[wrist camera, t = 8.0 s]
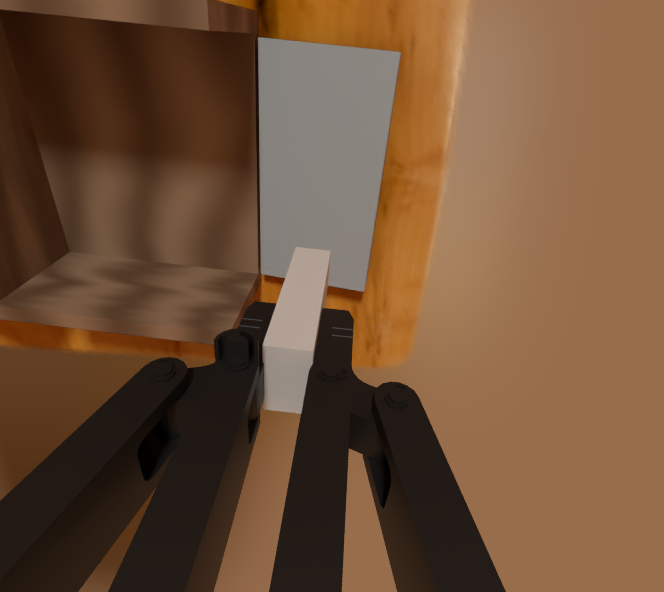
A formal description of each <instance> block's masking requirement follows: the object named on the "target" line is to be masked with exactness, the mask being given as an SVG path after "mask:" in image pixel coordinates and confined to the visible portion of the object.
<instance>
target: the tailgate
mask: <svg viewBox="0 0 664 592" xmlns="http://www.w3.org/2000/svg"><path fill="white" fill-rule="evenodd" d="M400 58H401V52H395V51H386V50H376V49H366V48H357V47H347V46H338V45H328V44H319V43H309V42H299V41H290V40H280V39H271V38H258V69H259V154H260V239H261V274H264V275H270V276H275V277H281V278H286V275H287V272H288V269H289V266H290V263H291V260H292V257H293V254H294V251H295V249H296V247H301V248H310V249H319V250H329V251H331V254H330V265H329V276H328V286H333V287H339V288H344V289H350V290H356V291H362V292H364V290H365V286H366V280H367V273H368V267H369V260H370V254H371V247H372V241H373V234H374V228H375V221H376V215H377V208H378V202H379V195H380V189H381V182H382V176H383V169H384V163H385V156H386V150H387V143H388V137H389V130H390V124H391V117H392V111H393V104H394V98H395V91H396V84H397V78H398V71H399V65H400Z"/></svg>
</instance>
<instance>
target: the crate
mask: <svg viewBox="0 0 664 592" xmlns="http://www.w3.org/2000/svg"><path fill="white" fill-rule="evenodd" d="M260 281H261V239H260V154H259V69H258V11H255V10H251V9H247V8H243V7H240V6H236V5H232V4H228V3H224V2H220V1H216V0H0V319H3V320H11V321H19V322H27V323H36V324H44V325H52V326H60V327H69V328H77V329H85V330H93V331H102V332H110V333H118V334H126V335H135V336H143V337H151V338H159V339H168V340H176V341H184V342H193V343H201V344H209V345H214V339H215V337H216V336H217V335H218V334H220V333H222V332H223V331H226V330H230V329H237V328H238V326H239V324H240V322H241V320H242V317H243V315H244V313H245V311H246V308H248V307H249V305H250V303H251V301H252V299H253V297H254V294H255V292H256V290H257V288H258V286H259V284H260Z"/></svg>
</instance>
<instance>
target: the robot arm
mask: <svg viewBox="0 0 664 592" xmlns="http://www.w3.org/2000/svg"><path fill="white" fill-rule="evenodd" d="M330 254H331V251H329V250H319V249H310V248H301V247H296V249H295V251H294V254H293V257H292V260H291V263H290V266H289V269H288V272H287V275H286V278H285V281H284V284H283V287H282V290H281V292H280V295H279V298H278V301H277V304H275V303H266V302H257V301H255V302H254V303H253V304H251V305H250V306H249V307H248V308H246V311H245V313H244V315H243V317H242V320H241V322H240V324H239V326H238V328H237V329H230V330H226V331H223V332H222V333H220V334H218V335H217V336H216V337H215V339H214V349H215V359H216V361H215V363H213V364H211V365H207V366H202V367H195V368H187V366H186V365H185V363H184V362H183V361H181V360H179V359H177V358H171V357H167V358H160V359H157V360H154V361H152V362H150V363H149V364H147V365H145V366H144V367H143V368H142V369H141V370H140V371H139V372H138V373H137V374H135V375H134V376H133V377H132V378H131V379H130V380H129V381H128V382H127V383H126V384H125V385H124V386H123V387H122V388H120V389H119V390H118V391H117V392H116V393H115V394H114V395H113V396H112V397H111V398H110V399H109V400H108V401H107V402H106V403H104V405H102V406H101V407H100V408H99V409H98V410H97V411H96V412H95V413H94V414H93V415H92V416H91V417H89V418H88V419H87V420H86V421H85V422H84V423H83V424H82V425H81V426H80V427H79V428H78V429H77V430H76V431H75V432H74V433H72V434H71V435H70V436H69V437H68V438H67V439H66V440H65V441H64V442H63V443H62V444H61V445H60V446H58V447H57V448H56V449H55V450H54V451H53V452H52V453H51V454H50V455H49V456H48V457H47V458H46V459H45V460H43V461H42V462H41V463H40V464H39V465H38V466H37V467H36V468H35V469H34V470H33V471H32V472H31V473H30V474H29V475H27V476H26V477H25V478H24V479H23V480H22V481H21V482H20V483H19V484H18V485H17V486H16V487H15V488H14V489H12V490H11V491H10V493H8V494H7V495H6V496H5V497H4V498H3V499H2V500H1V501H0V592H78V591H79V590H80V588H81V587H82V586H83V584H84V583H85V582H86V580H87V579H88V578H89V576H90V575H91V574H92V572H93V571H94V570H95V568H96V567H97V566H98V564H99V563H100V562H101V560H102V559H103V558H104V556H105V555H106V554H107V552H108V551H109V549H110V548H111V547H112V546H113V544H114V543H115V542H116V540H117V539H118V537H119V536H120V535H121V533H122V532H123V531H124V529H125V528H126V527H127V525H128V524H129V523H130V521H131V520H132V519H133V517H134V516H135V515H136V513H137V512H138V511H139V509H140V508H141V507H142V505H143V504H144V503H145V501H146V500H147V499H148V497H149V496H150V495H151V493H152V492H153V490H154V489H155V488H156V487H157V488H156V490H155V492H154V494H153V496H152V499H151V501H150V503H149V505H148V507H147V509H146V512H145V514H144V516H143V518H142V520H141V522H140V524H139V527H138V529H137V531H136V533H135V535H134V537H133V540H132V542H131V544H130V546H129V548H128V550H127V552H126V554H125V557H124V559H123V561H122V563H121V565H120V567H119V569H118V572H117V574H116V576H115V578H114V580H113V582H112V584H111V587H110V589H109V591H108V592H214V588H215V584H216V581H217V577H218V573H219V570H220V566H221V562H222V558H223V555H224V551H225V548H226V544H227V541H228V537H229V533H230V530H231V526H232V523H233V519H234V515H235V512H236V508H237V504H238V501H239V497H240V494H241V490H242V486H243V483H244V479H245V475H246V472H247V468H248V465H249V461H250V457H251V454H252V449H253V446H254V442H255V439H256V435H257V432H258V428H259V424H260V409H261V406H262V403H263V409H265V410H273V411H283V412H291V413H299V414H301V418H300V424H299V429H298V435H297V440H296V446H295V452H294V457H293V462H292V468H291V473H290V479H289V484H288V490H287V496H286V502H285V507H284V512H283V518H282V523H281V529H280V535H279V540H278V546H277V551H276V557H275V562H274V568H273V573H272V579H271V584H270V590H269V592H342V573H343V552H344V532H345V512H346V492H347V470H348V451H349V448H350V449H352V450H354V451H357V452H359V453H361V454H363V459H364V463H365V467H366V471H367V475H368V479H369V483H370V487H371V490H372V494H373V498H374V502H375V506H376V510H377V514H378V517H379V521H380V526H381V530H382V534H383V538H384V541H385V545H386V549H387V553H388V557H389V561H390V565H391V569H392V572H393V576H394V580H395V584H396V588H397V592H506V591H505V589H504V587H503V585H502V582H501V580H500V578H499V576H498V573H497V571H496V569H495V567H494V565H493V562H492V560H491V558H490V556H489V553H488V551H487V549H486V547H485V545H484V542H483V540H482V538H481V536H480V533H479V531H478V529H477V527H476V524H475V522H474V520H473V518H472V515H471V513H470V511H469V509H468V506H467V504H466V502H465V500H464V497H463V495H462V493H461V491H460V488H459V486H458V484H457V482H456V480H455V477H454V475H453V473H452V471H451V468H450V466H449V464H448V462H447V459H446V457H445V455H444V453H443V450H442V448H441V446H440V444H439V442H438V439H437V437H436V435H435V433H434V430H433V428H432V426H431V424H430V422H429V419H428V417H427V415H426V412H425V410H424V408H423V406H422V404H421V401H420V399H419V397H418V395H417V394H416V393H415V391H414V390H413V389H411V388H409V387H408V386H407V385H404V384H402V383H399V382H387V383H383V384H381V385H380V386H379V387H377V388H376V387H373V386H370V385H368V384H366V383H364V382H362V381H361V380H360V379H358V378H357V377H356V375H355V374H354V372H353V370H352V365H351V364H352V344H353V323H354V319H353V318H352V316H351V314H350V312H349V311H346V310H337V309H328V308H325V307H326V298H327V287H328V276H329V265H330ZM157 485H158V486H157Z"/></svg>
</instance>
